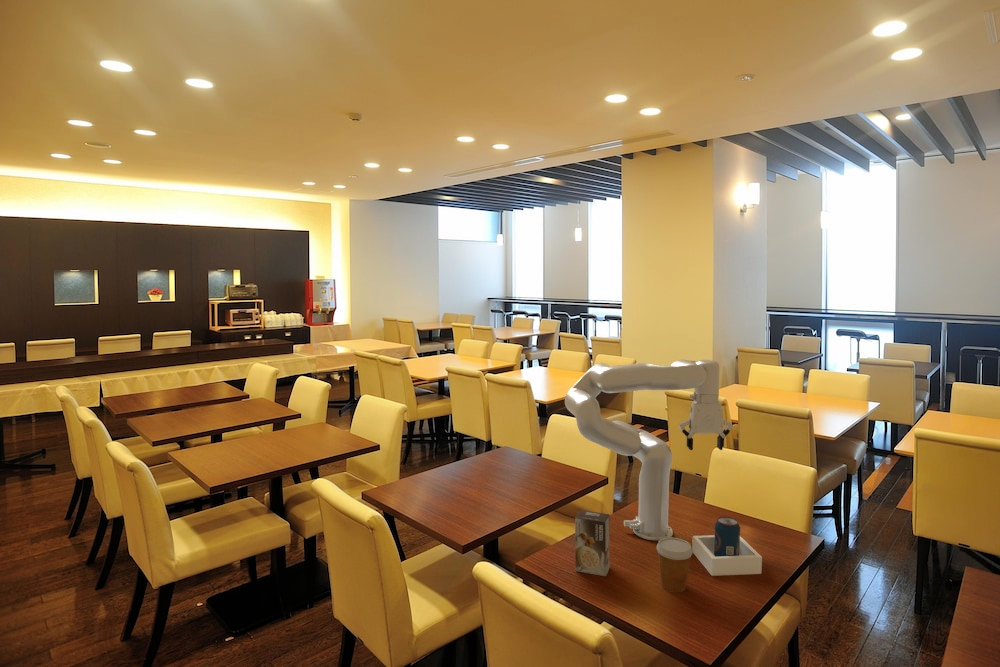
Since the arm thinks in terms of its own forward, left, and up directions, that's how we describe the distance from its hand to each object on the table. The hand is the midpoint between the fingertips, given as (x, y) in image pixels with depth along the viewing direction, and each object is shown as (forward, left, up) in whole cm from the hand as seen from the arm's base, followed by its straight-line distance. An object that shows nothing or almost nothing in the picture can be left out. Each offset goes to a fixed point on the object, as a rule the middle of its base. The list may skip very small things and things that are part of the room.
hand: (705, 449), depth 193 cm
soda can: (-2, -23, -27) cm, 35 cm away
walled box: (-3, -23, -27) cm, 36 cm away
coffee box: (-43, -24, -28) cm, 56 cm away
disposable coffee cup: (-23, -35, -27) cm, 50 cm away
